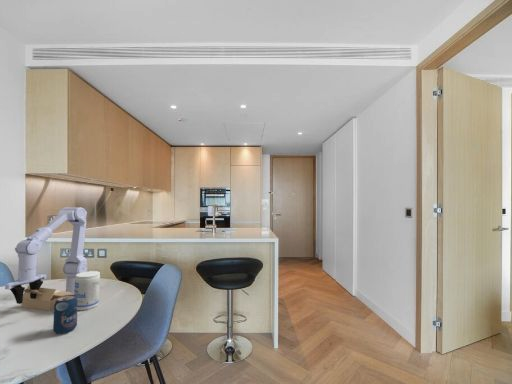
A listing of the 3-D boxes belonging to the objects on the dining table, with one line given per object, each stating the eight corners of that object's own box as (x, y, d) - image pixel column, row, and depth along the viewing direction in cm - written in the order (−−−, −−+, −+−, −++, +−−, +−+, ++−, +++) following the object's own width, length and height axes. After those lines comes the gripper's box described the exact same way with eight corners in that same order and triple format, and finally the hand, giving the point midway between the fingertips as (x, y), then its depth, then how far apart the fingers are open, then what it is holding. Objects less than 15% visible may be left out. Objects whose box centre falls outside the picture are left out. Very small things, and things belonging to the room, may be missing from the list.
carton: (45, 298, 123) (45, 288, 123) (71, 301, 119) (72, 292, 120) (21, 306, 114) (22, 296, 114) (49, 310, 110) (50, 300, 110)
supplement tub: (68, 311, 109) (69, 276, 110) (82, 302, 119) (83, 270, 119) (91, 311, 110) (92, 276, 110) (103, 302, 119) (104, 270, 120)
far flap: (49, 301, 110) (40, 298, 106) (22, 297, 114) (12, 295, 110) (56, 289, 113) (47, 286, 109) (29, 286, 116) (19, 283, 113)
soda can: (64, 336, 89) (65, 301, 90) (47, 334, 90) (49, 300, 91) (81, 327, 96) (82, 294, 96) (65, 325, 97) (66, 293, 98)
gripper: (38, 263, 117) (37, 293, 116) (-1, 272, 102) (-2, 306, 102) (50, 264, 115) (49, 295, 114) (13, 273, 101) (11, 308, 100)
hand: (26, 300), depth 108 cm, fingers open, 5 cm apart
